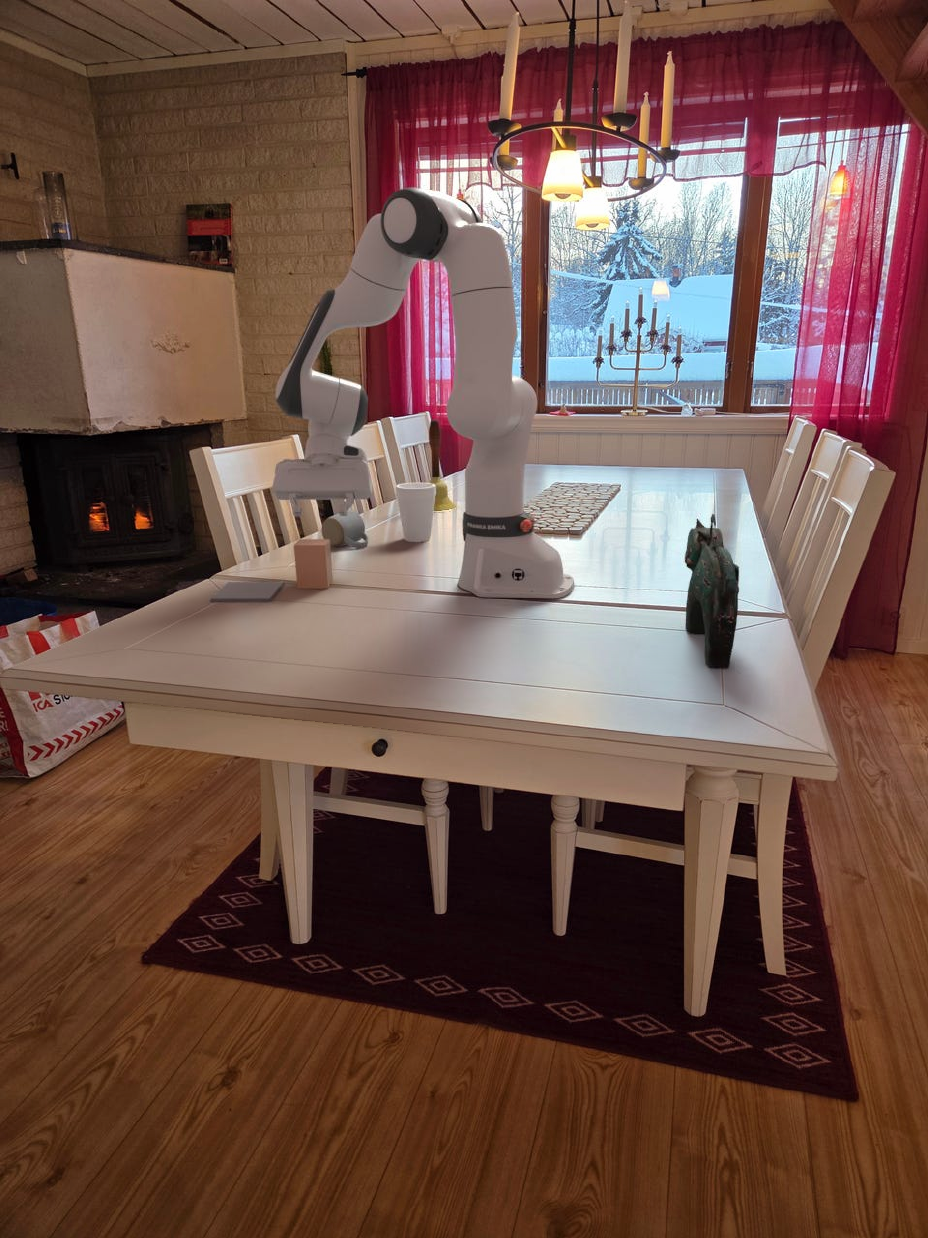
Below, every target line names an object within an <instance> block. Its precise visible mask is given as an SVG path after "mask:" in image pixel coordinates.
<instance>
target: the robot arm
mask: <svg viewBox="0 0 928 1238" xmlns="http://www.w3.org/2000/svg"><path fill="white" fill-rule="evenodd" d="M483 221H484V220H483V219H482V216H481V214H480V213H479V211H478V210H477V209H476V208H475V207H474V206H473V205H472V204H471V203H469V202H467V201H466V200H464V199H462V198H455V197H454V196H451V195H448V194H446V193H444V192H442V191H438V190H431V189H422V188H419V187H405V188H400V189H398V190H396V191H395V192H393V193H392V194H390V195H389V196H388V198H387V199H386V200H385V202H384V204H383V206H382V210H381V213H376V214H375V215H374V216H372V217H371V218H370V219H369V221H368V222H367V224H366V225H365V226H366V227H365V228H364V230H363V233H362V234H361V237H360V239H359V241H358V244H357V247H356V248H355V252H354V254H353V256H352V261H351V264H350V267H349V270H348V272H347V274H346V277H345V278H344V279H343V281H342V282H341V283H340V284H339V285H337V287H336V288H333V289H329V290H326V292H324V294H323V295H322V296H321V297H320V299H319V301H318V303H317V305H316V306H315V309H314V310H313V312H312V315H311V316H310V318H309V320H308V323H307V325H306V327H305V329H304V331H303V333H302V335H301V338H300V339H299V341H298V344H297V346H296V348H295V350H294V352H293V354H292V355H291V358H290V360H289V361H288V364H287V366H286V367H285V369H284V371H283V372H282V373H281V375H280V377H279V379H278V381H277V383H276V388H275V402H276V403H277V405H278V407H279V408H280V409H281V411H282V412H283V413H284V414H285V415H286V416H288V417H293V418H297V419H306V420H308V426H307V429H308V430H307V431H308V438H307V440H306V442H305V450H304V452H305V453H304V458H294V459H293V458H292V459H290V458H284V459H283V460H282V461H279V462H277V463H276V465H275V469H274V475H275V476H274V478H273V482H272V492H273V495H274V496H275V498H276V499H277V500H279V501H289V503H290V505H291V506H292V512H291V513H292V515H293V517H302V513H303V509H302V506H301V505H300V504H298V503H299V501H309V500H310V501H311V500H313V501H315V500H317V501H318V500H319V501H320V500H321V501H322V500H323V501H324V500H325V501H327V500H329V501H330V500H331V501H333V500H335V501H337V500H339V501H340V500H343V501H344V500H345V502H344V503H343V504H339V506H338V507H339V508H338V514H340V516H347V514H348V510H350V508H351V507H352V506H353V505H354V503H355V500H369V499H370V498H371V497H372V495H373V484H372V483H373V482H372V476H371V472H370V467H369V461H368V457H367V455H366V451H365V450H364V449H363V448H361V447H357V446H353V445H350V444H348V440H349V438H350V437H353V436H355V434H357V433H359V431H361V430H362V428H363V427H364V426H365V423H366V421H367V416H368V415H367V414H368V407H369V397H368V395H367V393H366V392H367V391H366V390H365V388H364V387H363V386H362V385H361V384H359V383H357V382H354V381H350V380H348V379H345V378H340V377H337V376H333V375H330V374H325V373H322V372H319V371H316V370H314V369H313V366H314V363H315V362H316V360H317V358H318V356H319V353H320V352H321V349H322V347H323V346H324V343H325V342H326V339H328V337H329V336H330V335H331V334H332V333H334V332H336V331H339V330H342V329H347V328H364V327H365V328H367V327H368V328H369V327H374V326H378V325H381V324H384V323H386V322H387V321H390V320H391V319H392V318H393V317H394V316H396V314H397V313H398V311H399V309H400V307H401V305H402V302H403V300H404V297H405V295H406V292H407V288H408V285H409V281H410V278H411V275H412V272H413V270H414V268H415V267H416V265H417V263H419V262H420V261H422V260H425V261H427V262H432V263H440V264H442V265H443V267H445V270H446V273H447V276H448V284H449V292H450V293H449V294H450V295H449V296H450V302H451V312H452V321H453V328H454V330H453V331H454V339H455V358H454V369H453V382H452V389H451V392H450V394H449V397H448V399H447V403H446V415H447V420H448V422H449V425H450V426H451V428H452V429H453V430H454V431H455V433H457V435H460V436H461V437H464V438H467V439H470V440H472V441H473V444H472V448H471V451H470V453H471V454H470V457H469V460H468V462H467V465H466V468H465V470H464V502H465V504H464V506H465V507H464V508H465V510H464V512H463V514H462V537H463V539H462V540H463V542H464V545H463V546H464V548H463V556H462V564H461V569H460V575H459V576H458V577H459V578H458V581H457V585H458V586H459V588H461V589H463V590H465V591H467V592H471V593H473V595H475V596H477V597H479V598H505V599H506V598H507V599H508V598H509V599H510V598H511V599H512V598H513V599H514V598H515V599H516V598H517V599H520V598H522V599H559V598H563V597H565V596H567V595H568V594H570V593H571V592H572V591H573V590H574V587H575V579H574V578H573V576H571V575H570V574H565V573H564V568H563V561H562V558H561V555H560V553H559V551H558V550H557V549H555V548H554V547H553V546H551V545H550V544H549V543H548V542H546V541H545V539H542V537H540V536H539V535H538V534H537V533H535V532H534V529H535V515H534V514H533V515H531V514H529V513H527V512H526V511H524V507H525V506H524V502H525V501H524V498H525V492H524V491H525V469H526V468H525V467H526V461H527V454H528V449H529V445H530V438H531V433H532V425H533V420H534V417H535V415H536V413H537V408H538V399H537V398H538V397H537V394H536V391H535V390H534V388H533V387H532V386H531V384H530V383H529V382H528V381H526V380H525V379H522V378H521V377H519V376H517V375H514V374H513V362H514V351H515V346H516V343H517V340H518V324H517V314H516V313H517V312H516V303H515V294H514V285H513V276H512V270H511V266H510V265H511V264H510V260H509V255H508V252H507V248H506V244H505V241H504V237H503V235H502V233H501V232H500V230H499V229H498V228H496V227H495V226H494V225H491V224H488V223H484V222H483Z"/></svg>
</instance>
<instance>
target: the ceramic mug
mask: <svg viewBox="0 0 928 1238" xmlns="http://www.w3.org/2000/svg"><path fill="white" fill-rule="evenodd" d="M320 530H321V531H320V532H321V535H322V537H323V539H330V547H331V546H332V547H337V546H338V547H343V546H346V545H348V546H350V547H352V548H356V549H361V548H363V549H364V548H366V547H367V546H368V544H369V536H367V533H366V524H365V521H364V520H363V518H362V516H361V515H360V514H359V513H358V512H357V511H355V510H352V509H348V514H347V516H340V514H339V513H337V514H334V515H332V516H329V517H327V518H326V519H325V520H324V521H323V522H322V524H321V529H320ZM362 539H363V541H362V542H361V540H362ZM358 541H360V542H358Z"/></svg>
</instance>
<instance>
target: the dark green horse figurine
mask: <svg viewBox="0 0 928 1238" xmlns="http://www.w3.org/2000/svg"><path fill="white" fill-rule="evenodd" d="M695 524H696V525H695V527H694V528H691V529H690V530H689V533H688V537H687V542H686V550H685V554H684V563H685V565H686V567H687V569H689V570H690V571H691V576H690V580H689V583H688V589H687V597H686V598H687V599H686V605H685V606H686V607H685V629H686V632H687V633H688V634H690V635H698V636H699V635H704V660H705V661H704V662H705V665H706V666H707V667H708V668H710V669H729V667H730V664H731V655H732V652H733V648H734V640H735V634H736V629H737V622H738V615H739V614H738V611H739V610H738V609H739V592H740V587H739V581H740V567H739V565H737V564H735V563H734V560H733V557H732V555H731V553H730V551H729V550H728V549H727V548H725V545H724V539H723V533H722V530H721V529H720V528H717V527H716V526H717V521H716V516H715V514H713V513H711V517H710V527H706V526H704V525H703V524H702V522H701V521H700V519H698V518H696V523H695ZM713 526H714V527H713Z"/></svg>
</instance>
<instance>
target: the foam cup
mask: <svg viewBox="0 0 928 1238" xmlns="http://www.w3.org/2000/svg"><path fill="white" fill-rule="evenodd" d="M435 495H436V485H435V484H431V483H428V482H407V483H405V482H404V483H399V484H396V486H395V496H396V498H397V504H398V507H399V508H398V510H399V514H400V516H399V517H400V519H401V520H400V522H401V527H402V533H403V537H404V538H403V539H404V541H406V542H410V543H411V542H413V543H422V541H423V542H428V541H430V540H431V539H430V538H431V536H432V528H433V520H434V513H433V511H434V502H435ZM429 539H430V540H429ZM427 540H428V541H427Z"/></svg>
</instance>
